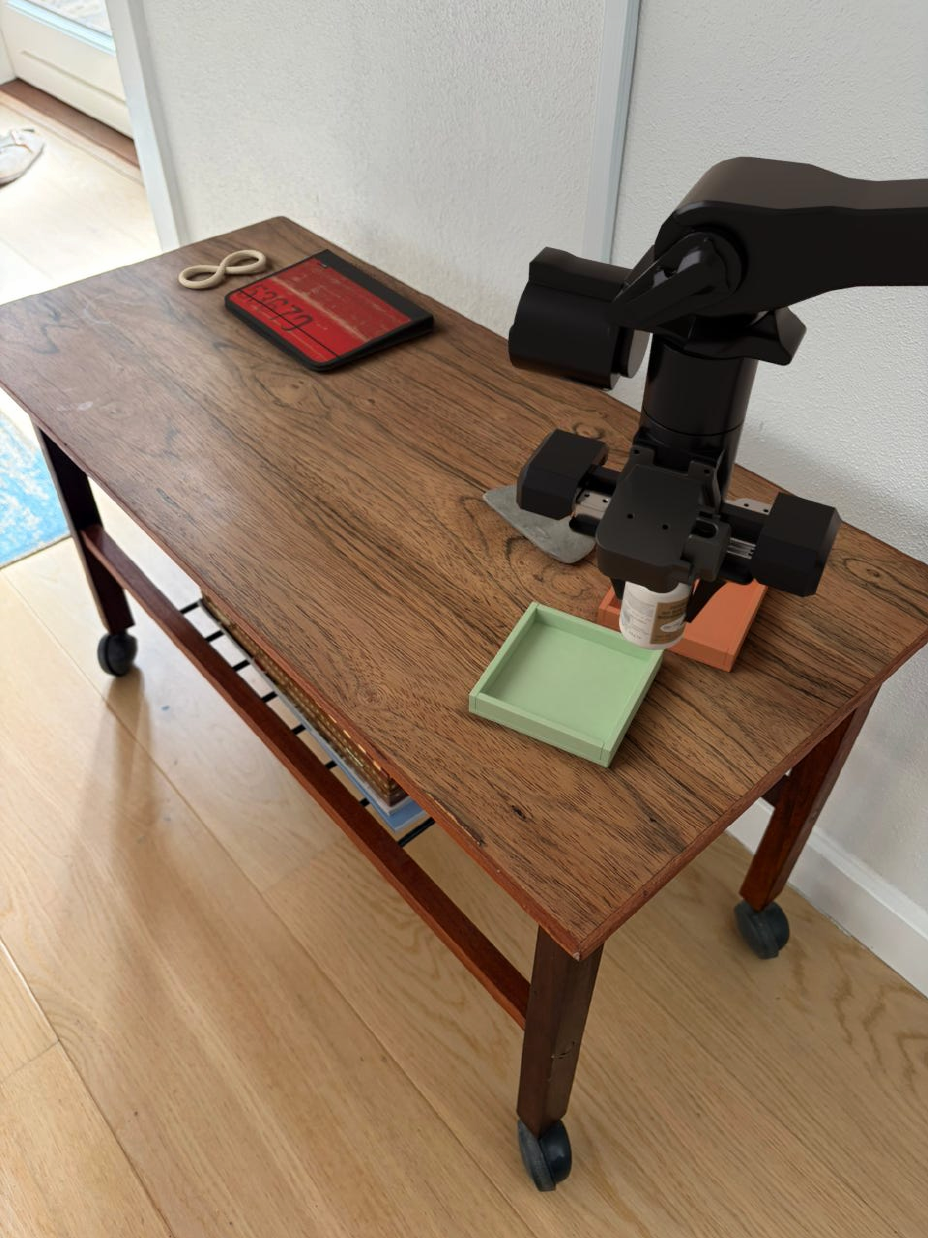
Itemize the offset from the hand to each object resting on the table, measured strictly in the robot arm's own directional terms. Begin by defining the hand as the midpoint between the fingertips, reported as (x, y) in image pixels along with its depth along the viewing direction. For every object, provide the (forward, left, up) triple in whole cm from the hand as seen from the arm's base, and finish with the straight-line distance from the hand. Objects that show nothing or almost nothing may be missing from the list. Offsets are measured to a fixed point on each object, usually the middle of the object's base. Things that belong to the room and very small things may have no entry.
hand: (655, 607), depth 68 cm
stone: (+16, -17, -12) cm, 26 cm away
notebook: (+53, -39, -12) cm, 67 cm away
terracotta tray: (+1, -14, -12) cm, 18 cm away
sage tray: (+6, -1, -12) cm, 13 cm away
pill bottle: (0, 0, -2) cm, 2 cm away
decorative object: (+70, -43, -12) cm, 82 cm away
